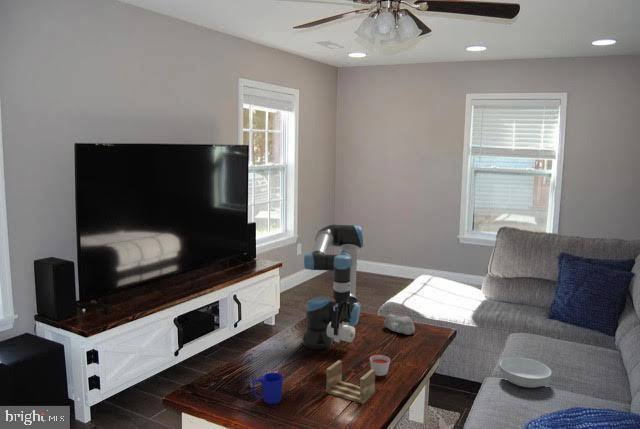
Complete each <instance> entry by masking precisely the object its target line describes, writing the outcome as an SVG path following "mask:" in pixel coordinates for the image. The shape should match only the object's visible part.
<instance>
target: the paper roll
mask: <svg viewBox="0 0 640 429" xmlns="http://www.w3.org/2000/svg"><path fill="white" fill-rule="evenodd" d="M339 328H340V341H343V342H347V343H352V342H353V341H354V339H355V337H356V336H355V335H356V328H355V326H348V325H344V324H339ZM327 336H328V337H331V338H332V339H334V328H331V322H330V323H329V324H328V327H327Z"/></svg>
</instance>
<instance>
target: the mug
mask: <svg viewBox="0 0 640 429" xmlns="http://www.w3.org/2000/svg"><path fill="white" fill-rule="evenodd" d="M283 380H284V378H283V375H282V374H281V373H278V372H268V373H265V374H263V375H262V376H261V378H253V379H251V385H252V393H253V395H254V397H255V398H257V399H261V398H263V401H264V403H266V404H268V405H275V404H279V403H280V401H281V400H282V391H283ZM255 382H260V384H261V391H262V392H261V393H262V394H261V395H258V394H257V393H256V390H255Z"/></svg>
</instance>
